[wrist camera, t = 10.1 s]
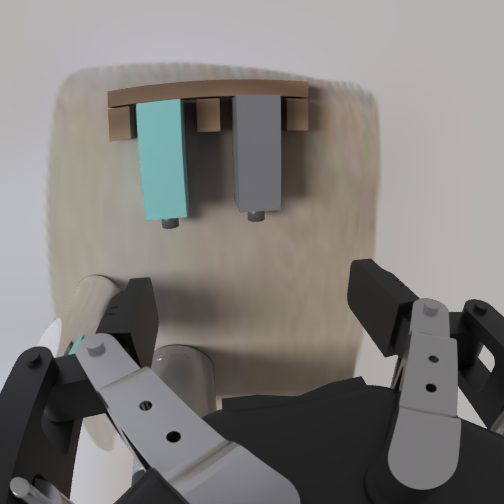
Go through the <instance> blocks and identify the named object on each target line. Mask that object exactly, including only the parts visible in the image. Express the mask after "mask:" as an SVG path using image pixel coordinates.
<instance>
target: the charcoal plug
mask: <svg viewBox="0 0 504 504" xmlns="http://www.w3.org/2000/svg"><path fill="white" fill-rule="evenodd" d="M231 107H232V143H233V173H234V199H235V202H236V204H237V207H238V209H239V212H240V213H241V212H248V220H249V221H253V222H259V221H263V220H264V219H265V211H274V210H281V95H236V96H234V97H233V98H232V99H231Z"/></svg>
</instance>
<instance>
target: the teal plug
mask: <svg viewBox="0 0 504 504" xmlns="http://www.w3.org/2000/svg"><path fill="white" fill-rule="evenodd" d="M136 113H137V133H138V148H139V161H140V172H141V183H142V192H143V201H144V210H145V218H146V221H147V220H158V219H162V227H163V228H165V229H172V228H176V227H178V226H179V219H178V218H182V217H187V213H188V208H189V191H188V176H187V160H186V141H185V117H184V102H183V101H182V100H181V99H173V100H163V101H154V102H145V103H138V104H136Z"/></svg>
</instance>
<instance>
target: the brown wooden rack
mask: <svg viewBox="0 0 504 504" xmlns="http://www.w3.org/2000/svg"><path fill="white" fill-rule="evenodd" d="M236 95H281V98H286V99H283V100H281V129H282V130H300V131H308V99H302V98H308V82H302V81H285V80H206V81H189V82H177V83H166V84H156V85H148V86H140V87H133V88H126V89H120V90H114V91H108V107H109V108H114V109H108V118H109V136H110V142H111V141H118V140H125V139H132V138H136V117H135V107H130V106H134V105H136V104H138V103H145V102H154V101H163V100H173V99H181V100H194V99H196V101H197V132H213V131H220V98H233V97H234V96H236ZM212 98H213V99H212ZM292 98H293V99H292ZM127 106H128V107H127ZM120 107H121V108H120Z"/></svg>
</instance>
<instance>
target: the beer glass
mask: <svg viewBox="0 0 504 504" xmlns="http://www.w3.org/2000/svg"><path fill="white" fill-rule="evenodd" d="M118 292H121V291H120V289H119V288H118V286H117V285H116V284H115V283H114V282H112V281H111V280H110V279H108V278H106V277H103V276H99V275H91V276H88V277H85V278H84V279H82V280H81V281H80V282H79V284H78V286H77V288H76V292H75V296H74V298H73V300H72V302H71V303H70V304H69V306H68V307H67V308H66V309H65V310H63V311H62V312H61V313H60V314H59V315H58V316H57V317H56V318H55V319H54V321H53V322H52V323H51V324H50V325H49V327H48V328H47V329H46V331H45V332H44V334H43V335H42V337H41V339H40V341H39V343H38V345H37V346H43V347H47V348H49V349H50V350H51V352H52V354H53V356H54V358H57V357H61V356H66V355H71V354H74V353H75V349H76V346H77V345H78V343H79V342H80V341H81V340H83V339H84V338H86V337H88V336H90V335H93V334H95V333H96V330H97V328H98V326H99V324H100V321H101V319H102V317H103V315H104V312H105V310H106V309H107V306H108V304H109V302H110V300H111V298H113V297H114V296H115V295H116V294H117V293H118Z"/></svg>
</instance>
